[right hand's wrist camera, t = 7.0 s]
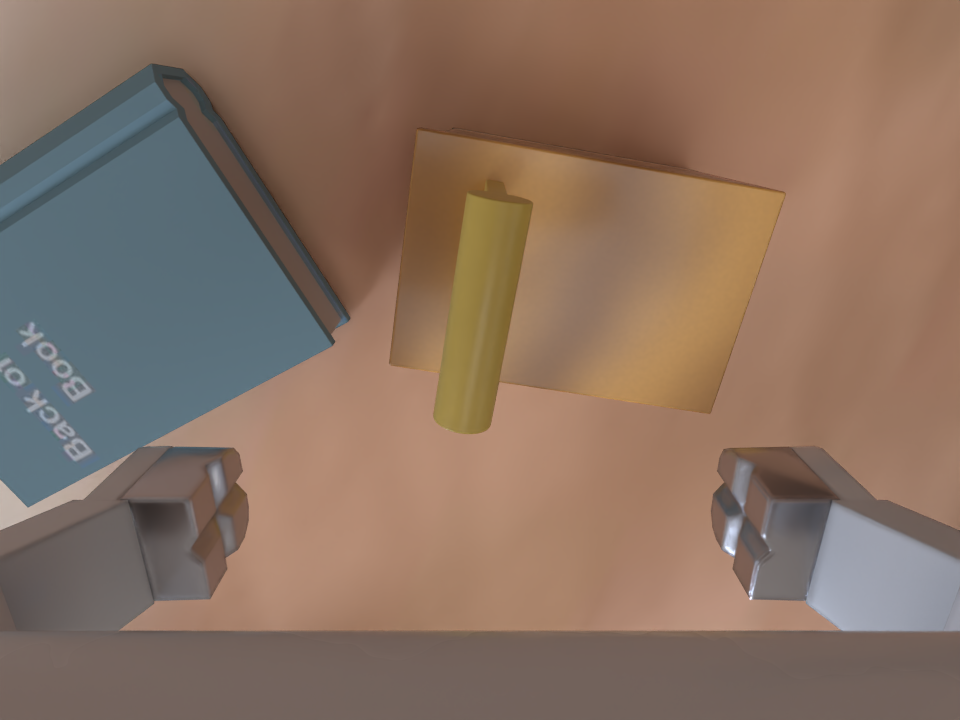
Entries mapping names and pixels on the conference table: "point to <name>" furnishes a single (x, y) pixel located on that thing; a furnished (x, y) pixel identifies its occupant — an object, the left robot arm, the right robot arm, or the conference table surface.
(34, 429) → the book
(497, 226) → the lid
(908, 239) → the conference table surface
